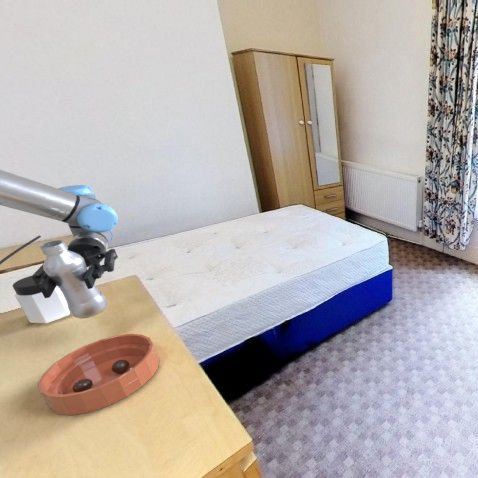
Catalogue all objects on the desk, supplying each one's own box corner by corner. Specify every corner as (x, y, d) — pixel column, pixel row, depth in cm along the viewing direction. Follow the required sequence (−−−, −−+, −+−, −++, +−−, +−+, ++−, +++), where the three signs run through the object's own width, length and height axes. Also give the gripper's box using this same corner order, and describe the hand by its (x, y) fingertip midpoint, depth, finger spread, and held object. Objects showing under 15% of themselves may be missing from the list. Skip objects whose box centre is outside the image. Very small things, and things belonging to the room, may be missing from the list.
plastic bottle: (68, 319, 78) (21, 248, 69) (99, 302, 84) (60, 235, 75) (86, 324, 77) (41, 253, 67) (117, 307, 83) (79, 239, 73)
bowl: (47, 384, 72) (34, 364, 69) (148, 342, 85) (141, 324, 82) (56, 435, 61) (42, 413, 59) (170, 378, 74) (162, 358, 72)
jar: (66, 319, 92) (48, 284, 87) (25, 328, 88) (4, 291, 83) (78, 303, 99) (62, 269, 94) (40, 310, 95) (21, 275, 90)
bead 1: (70, 381, 69) (85, 373, 69) (84, 386, 71) (98, 378, 71) (66, 393, 67) (81, 385, 67) (80, 398, 69) (94, 390, 69)
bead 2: (133, 360, 77) (119, 368, 76) (123, 354, 75) (108, 362, 74) (132, 369, 75) (118, 378, 74) (122, 363, 73) (107, 372, 72)
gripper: (136, 253, 95) (128, 289, 78) (42, 270, 85) (10, 316, 68) (127, 230, 92) (117, 262, 75) (29, 245, 82) (-8, 286, 65)
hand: (66, 287), depth 72 cm, fingers closed on plastic bottle, 6 cm apart
